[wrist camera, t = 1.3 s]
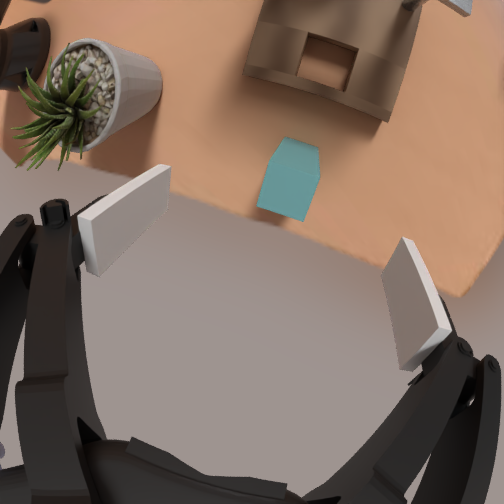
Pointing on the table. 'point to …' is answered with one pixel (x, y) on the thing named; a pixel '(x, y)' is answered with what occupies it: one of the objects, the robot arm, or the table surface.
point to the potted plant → (88, 97)
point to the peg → (290, 179)
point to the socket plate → (342, 34)
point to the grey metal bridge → (460, 3)
